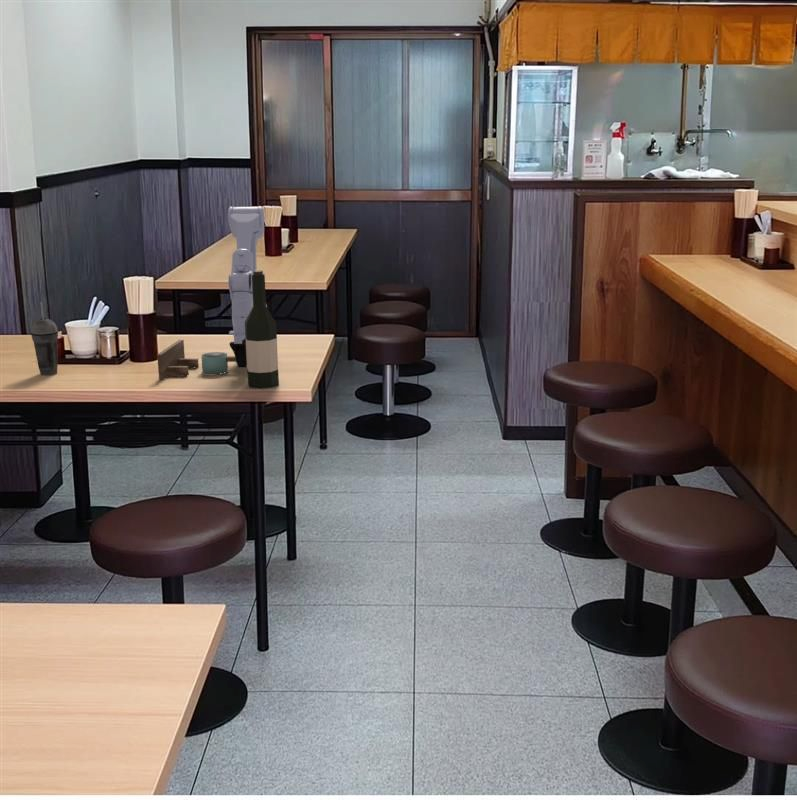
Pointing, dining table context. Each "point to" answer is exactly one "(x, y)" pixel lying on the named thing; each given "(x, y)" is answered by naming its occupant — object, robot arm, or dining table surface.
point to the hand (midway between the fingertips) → (245, 364)
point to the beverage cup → (45, 344)
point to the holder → (175, 361)
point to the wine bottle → (261, 339)
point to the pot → (216, 362)
